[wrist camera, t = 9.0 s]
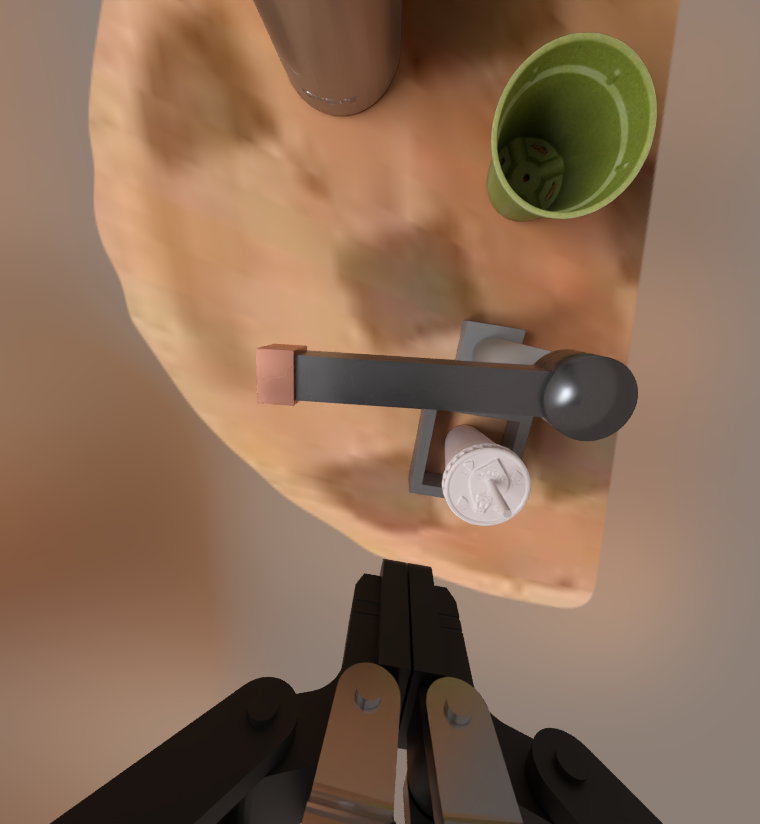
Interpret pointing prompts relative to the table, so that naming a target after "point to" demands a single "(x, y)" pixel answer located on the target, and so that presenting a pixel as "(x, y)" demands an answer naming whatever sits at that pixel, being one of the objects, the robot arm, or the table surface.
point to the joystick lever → (458, 385)
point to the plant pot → (571, 128)
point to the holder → (481, 347)
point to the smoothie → (483, 478)
